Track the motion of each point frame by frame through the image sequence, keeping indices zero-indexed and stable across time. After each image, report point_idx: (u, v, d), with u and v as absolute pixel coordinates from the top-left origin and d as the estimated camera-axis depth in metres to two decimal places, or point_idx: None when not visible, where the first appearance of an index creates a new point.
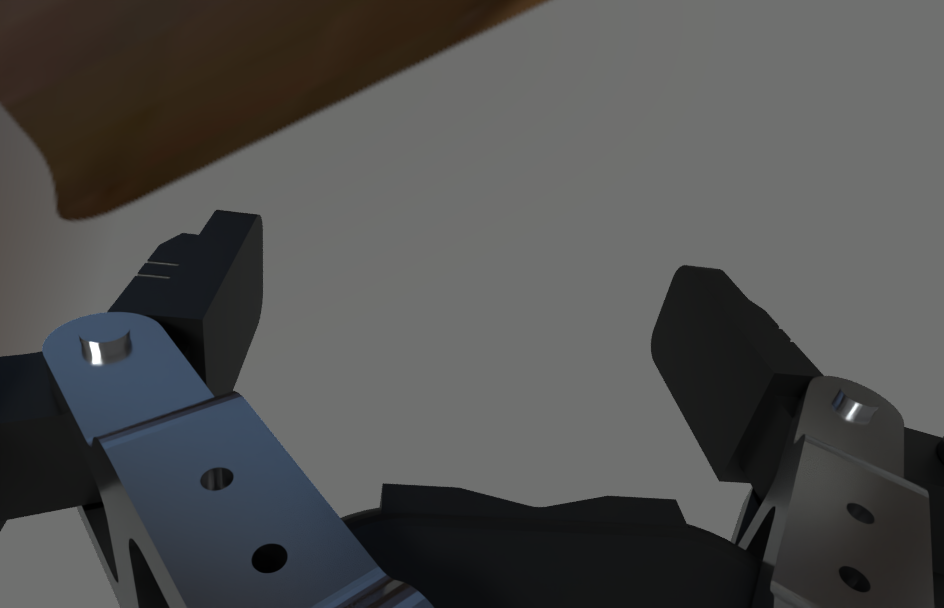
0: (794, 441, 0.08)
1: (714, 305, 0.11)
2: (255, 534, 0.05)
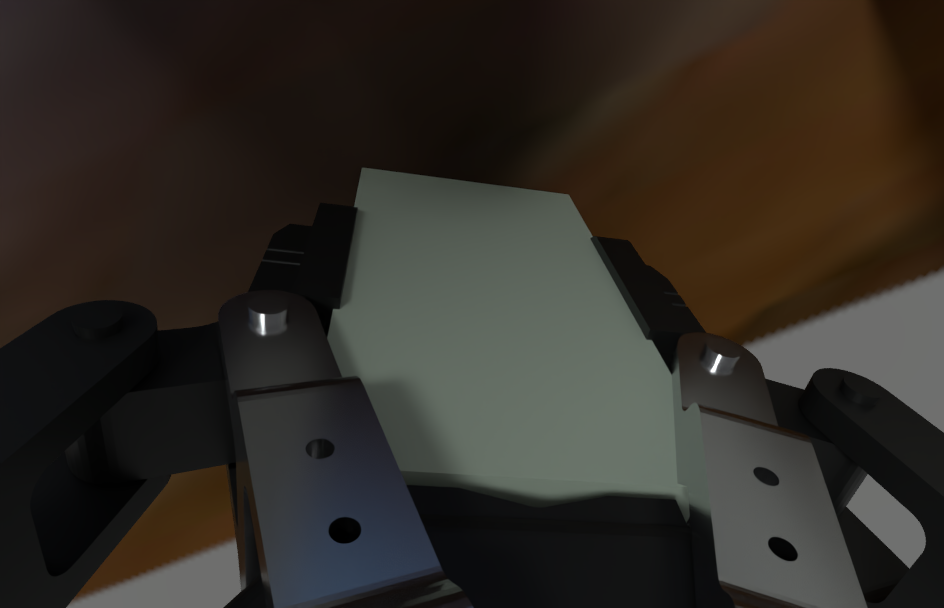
0: (682, 408, 0.08)
1: (612, 271, 0.11)
2: (338, 505, 0.05)
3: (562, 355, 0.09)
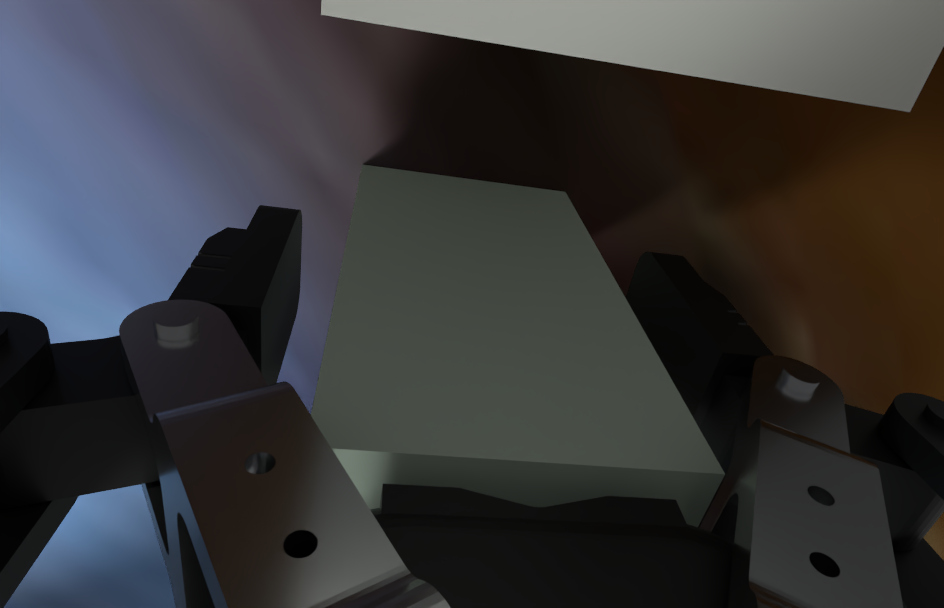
0: (747, 425, 0.08)
1: (672, 289, 0.11)
2: (289, 519, 0.05)
3: (557, 346, 0.09)
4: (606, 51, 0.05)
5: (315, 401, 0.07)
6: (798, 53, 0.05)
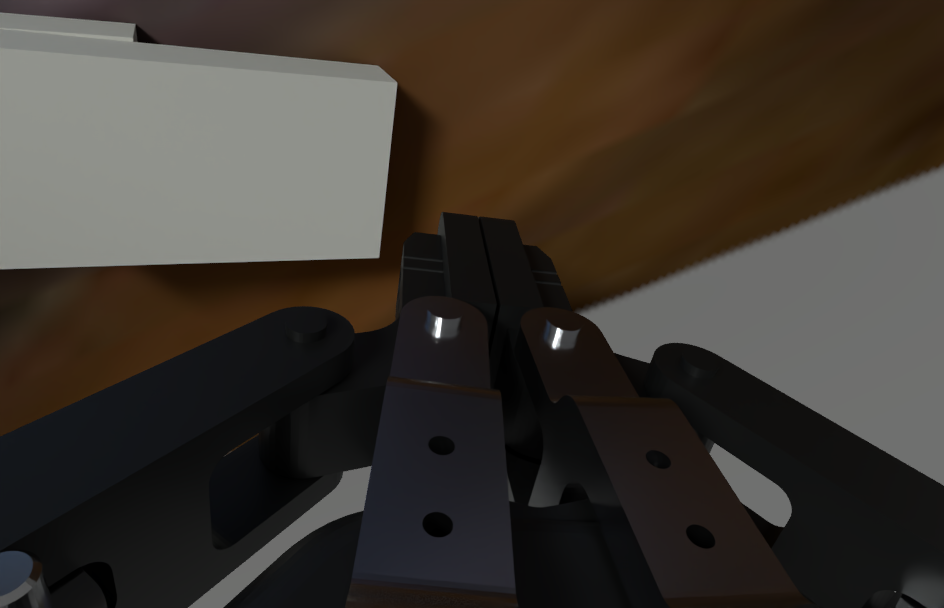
0: (550, 399, 0.07)
1: (486, 250, 0.11)
2: (439, 500, 0.05)
3: None
4: None
5: None
6: None
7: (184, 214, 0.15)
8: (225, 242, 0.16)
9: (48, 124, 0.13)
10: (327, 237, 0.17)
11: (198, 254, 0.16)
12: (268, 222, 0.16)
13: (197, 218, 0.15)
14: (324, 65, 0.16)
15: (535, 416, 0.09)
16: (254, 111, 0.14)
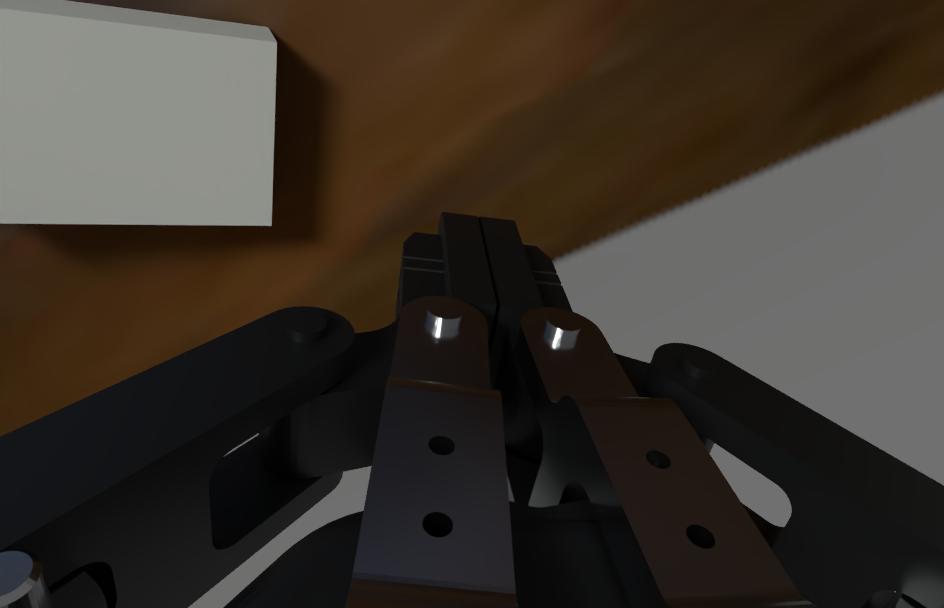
0: (550, 399, 0.07)
1: (486, 250, 0.11)
2: (439, 500, 0.05)
3: None
4: None
5: None
6: None
7: (53, 172, 0.15)
8: (101, 203, 0.15)
9: None
10: (213, 202, 0.16)
11: (72, 214, 0.15)
12: (146, 184, 0.16)
13: (67, 176, 0.15)
14: (204, 23, 0.15)
15: (535, 416, 0.09)
16: (121, 66, 0.14)
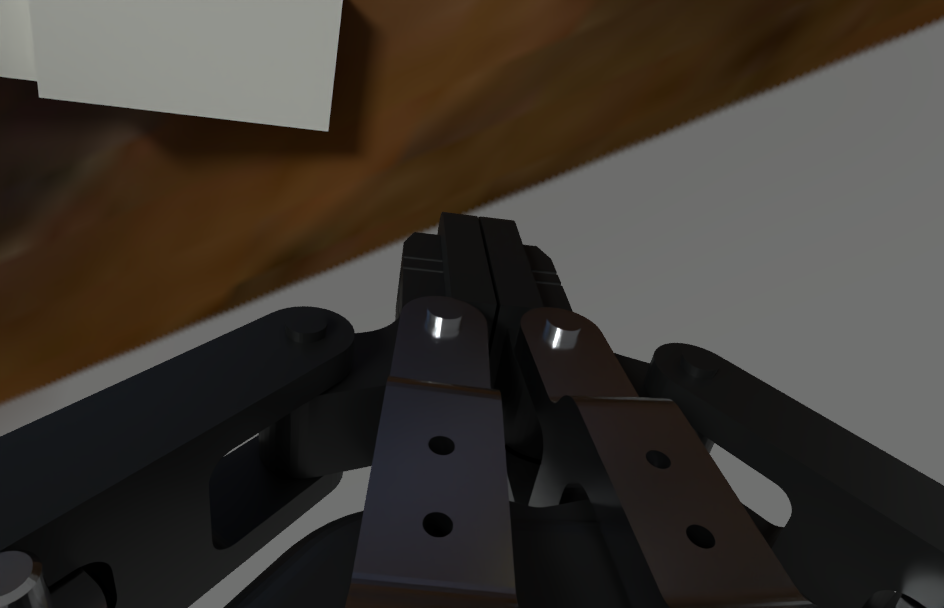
0: (550, 399, 0.07)
1: (486, 250, 0.11)
2: (440, 500, 0.05)
3: None
4: None
5: None
6: None
7: (182, 74, 0.21)
8: (211, 101, 0.21)
9: None
10: (288, 108, 0.22)
11: (190, 108, 0.21)
12: (244, 89, 0.22)
13: (191, 78, 0.21)
14: None
15: (535, 416, 0.09)
16: None
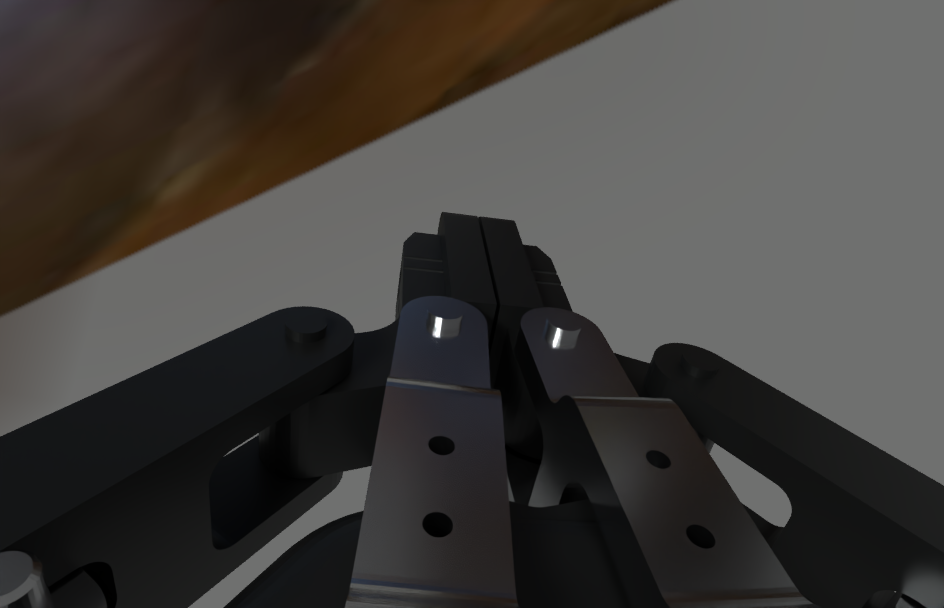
0: (549, 399, 0.07)
1: (486, 250, 0.11)
2: (440, 500, 0.05)
3: None
4: None
5: None
6: None
7: None
8: None
9: None
10: None
11: None
12: None
13: None
14: None
15: (535, 416, 0.09)
16: None
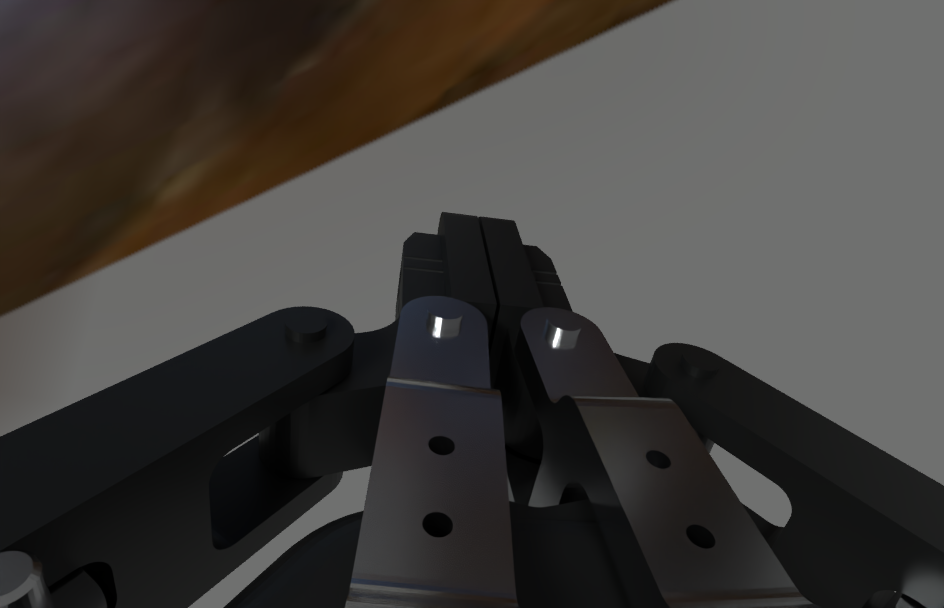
0: (550, 399, 0.07)
1: (486, 250, 0.11)
2: (440, 500, 0.05)
3: None
4: None
5: None
6: None
7: None
8: None
9: None
10: None
11: None
12: None
13: None
14: None
15: (535, 416, 0.09)
16: None
